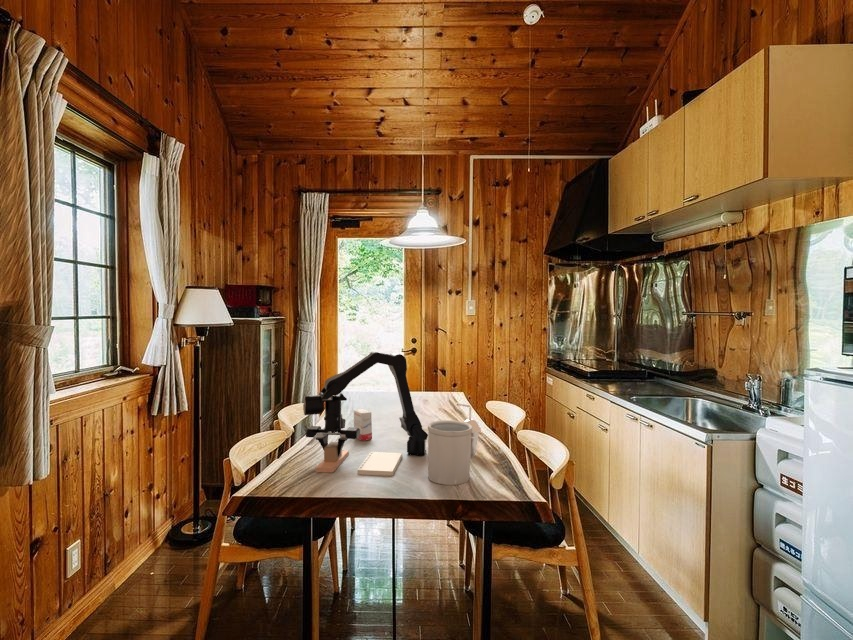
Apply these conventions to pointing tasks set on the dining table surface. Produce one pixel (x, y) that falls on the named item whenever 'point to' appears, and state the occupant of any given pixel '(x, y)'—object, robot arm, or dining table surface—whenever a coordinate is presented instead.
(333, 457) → the stub
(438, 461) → the utensil holder
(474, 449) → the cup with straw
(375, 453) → the board
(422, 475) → the dining table surface
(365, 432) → the ink box
